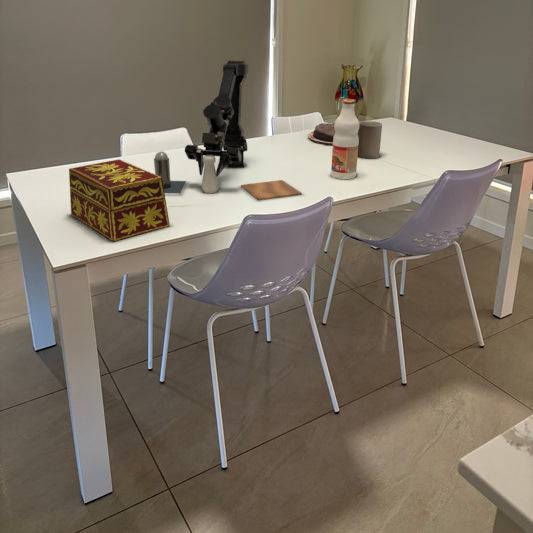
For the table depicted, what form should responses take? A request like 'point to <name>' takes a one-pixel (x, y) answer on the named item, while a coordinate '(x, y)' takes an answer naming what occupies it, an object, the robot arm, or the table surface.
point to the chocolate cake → (323, 133)
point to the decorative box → (118, 199)
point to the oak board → (270, 190)
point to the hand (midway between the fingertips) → (208, 175)
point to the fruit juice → (345, 142)
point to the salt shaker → (209, 175)
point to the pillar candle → (369, 139)
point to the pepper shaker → (163, 168)
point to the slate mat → (175, 187)
